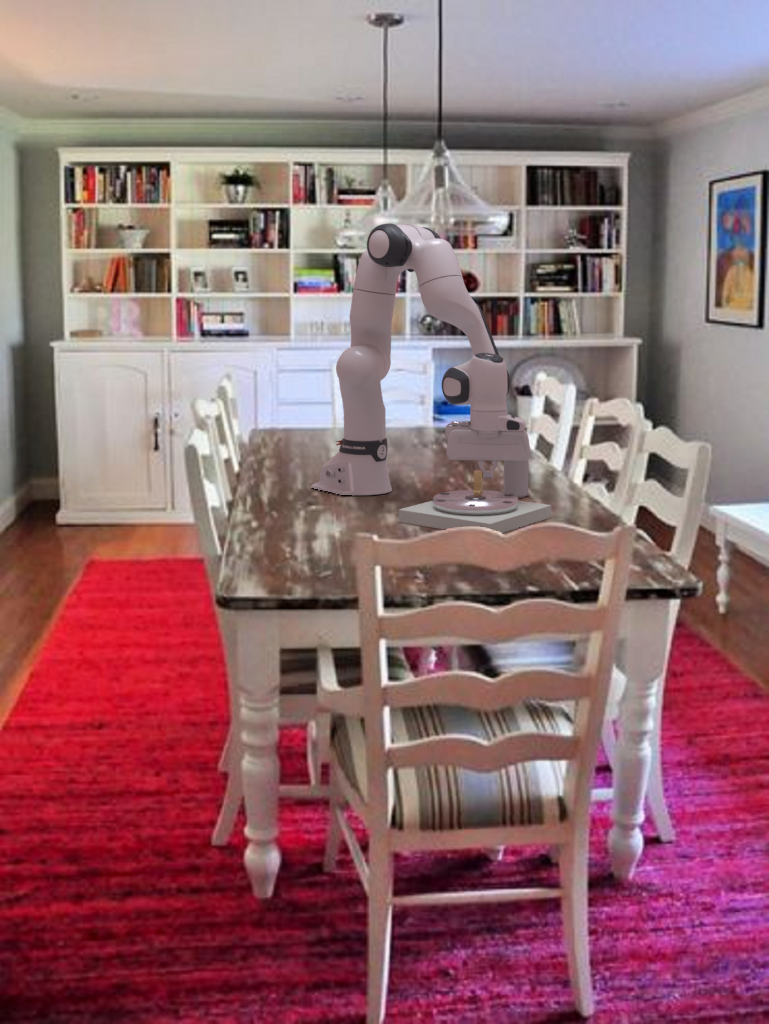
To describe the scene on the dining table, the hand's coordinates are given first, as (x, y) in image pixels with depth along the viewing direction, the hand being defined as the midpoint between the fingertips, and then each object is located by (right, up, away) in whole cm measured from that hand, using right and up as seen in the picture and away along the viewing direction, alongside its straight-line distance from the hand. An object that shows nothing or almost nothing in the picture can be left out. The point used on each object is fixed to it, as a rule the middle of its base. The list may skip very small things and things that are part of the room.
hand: (487, 478), depth 293 cm
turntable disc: (-4, -7, -6) cm, 10 cm away
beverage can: (+9, -4, +22) cm, 24 cm away
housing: (-4, -10, -6) cm, 12 cm away
